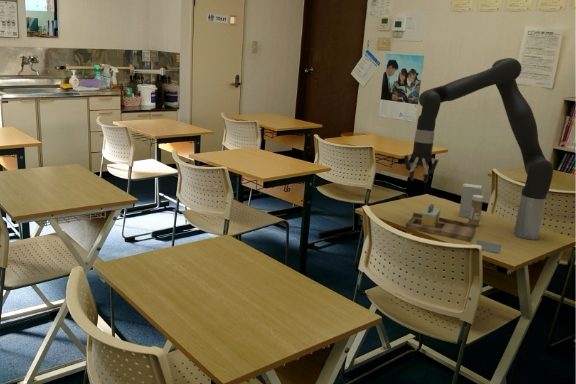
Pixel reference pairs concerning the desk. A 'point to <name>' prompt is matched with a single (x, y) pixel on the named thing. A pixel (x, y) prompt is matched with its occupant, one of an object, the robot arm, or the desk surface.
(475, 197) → the sprinkles bottle
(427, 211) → the lock slider
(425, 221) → the block
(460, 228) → the puzzle board
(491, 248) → the mat
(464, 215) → the skincare box
